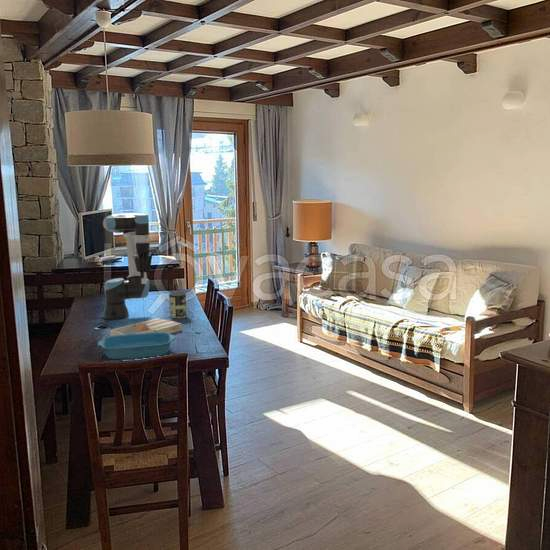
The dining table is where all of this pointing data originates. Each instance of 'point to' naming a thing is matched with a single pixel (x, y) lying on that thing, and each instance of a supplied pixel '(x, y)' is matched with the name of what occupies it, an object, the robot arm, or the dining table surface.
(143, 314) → the dining table surface
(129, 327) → the tray
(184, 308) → the coffee can
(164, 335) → the casserole dish
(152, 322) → the wavy grain square board
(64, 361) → the dining table surface
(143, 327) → the tile rear
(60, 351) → the dining table surface
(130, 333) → the tile front
